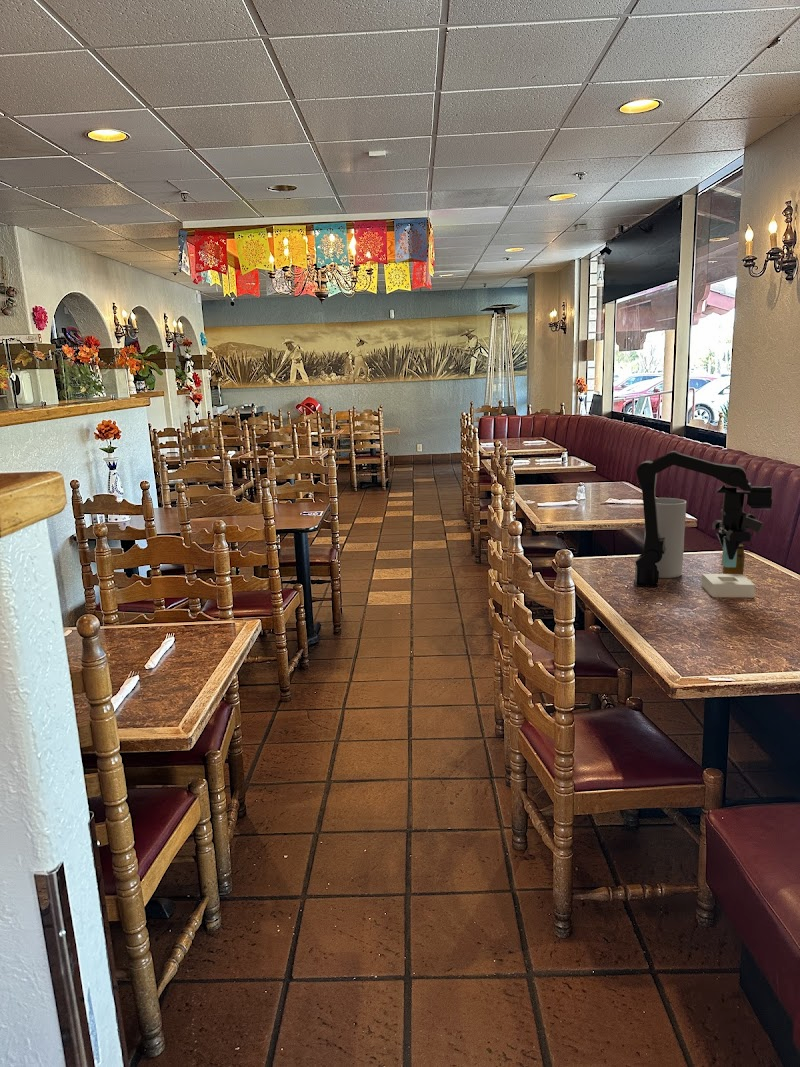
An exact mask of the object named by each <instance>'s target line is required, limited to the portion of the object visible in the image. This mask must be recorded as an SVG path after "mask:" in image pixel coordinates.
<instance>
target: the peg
mask: <svg viewBox="0 0 800 1067" xmlns="http://www.w3.org/2000/svg"><path fill="white" fill-rule="evenodd" d="M724 537H726V536H724ZM736 561H737V551H736V553H735V556H734V558H733V560H730V559H729V557H728V554H727V551H726V547H725V543H724V542H723V548H722V556H721V565H722V567H723V566H724V567H736Z"/></svg>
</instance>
